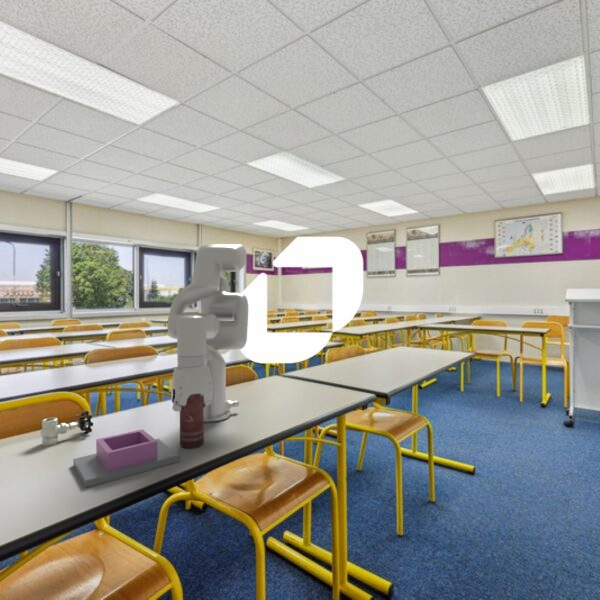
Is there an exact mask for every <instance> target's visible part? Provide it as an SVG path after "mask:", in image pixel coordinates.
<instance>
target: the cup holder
mask: <svg viewBox="0 0 600 600" xmlns="http://www.w3.org/2000/svg"><path fill="white" fill-rule="evenodd" d="M95 441H96V442H95V444H96V447H95V448H96V452H95V453H92V454H88V455H85V456H80V457H76V458H73V459H72V460H73V461H72V463H73V465H72V466H73V468H74V469H75V471H76V473H77V474H78V476H79V478H80V479H81V482H82V483H83V485H84V487H85V489H86V488H90V487H94V486H97V485H102V484H104V483H107V482H111V481H115V480H118V479H122V478H126V477H128V476H132V475H136V474H139V473H142V472H143V473H144V472H147V471H150V470H154V469H157V468H159V467H160V468H161V467H163V466H167V465H172V464H176V463H178V462H180V454H178V453H177V452H176V451H174V450H173V449H172V448H171V447H169V446H168V445H167V444H166V443H164V442H163V441H162V440H160V438H154V437H153V436H151V435H150V434H149V433H148V432H146V431H145V430H144V429H142V428H141V429H137V430H134V431H128V432H124V433H119V434H115V435H110V436H106V437H102V438H96V439H95Z"/></svg>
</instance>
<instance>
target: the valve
mask: <svg viewBox="0 0 600 600" xmlns="http://www.w3.org/2000/svg"><path fill="white" fill-rule="evenodd" d="M92 419H93V416H92V414H89V410H85V411H83V412H81V413H80V417H79V418H78V421H77V422H74V421H73V422H70V423H68V424H67V423H66V422H61V423H58V420H59V418H58V417H48V418H44V419H42V421H41V427H42V428H41V430H40V436H41V438H42V439H41V443H42V444H41V445H42V446H45V445H47V446H46V447H49V446H52V445H57V444H58V441H59V434H60V435H64V434H67V431H72V430H75V429H76V428H79V429H80V431H83V434H84V435H87V434H89V433H92V432H93V429H92V427H93V426H94V422H92Z"/></svg>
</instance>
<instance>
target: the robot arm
mask: <svg viewBox="0 0 600 600" xmlns="http://www.w3.org/2000/svg"><path fill="white" fill-rule="evenodd" d="M247 256H248V255H247V250H246V247H244V245H243V244H239V243H237V244H236V243H235V244H232V243H231V244H225V243H218V244H217V243H215V244H214V243H213V244H212V243H211V244H204V245H202V246H200V247H199V248H198V250H197V254H196V257H195V262H194V266H193V267H194V268H193V272H192V273H193V274H192V278H191V283H190V284H188V285H187V286H186V287H184V288H183V289H181V291H179V293H178V294H177V295H176V296H175V297H174V298H173V300H172V303H171V305H170V310H169V314H168V318H167V333H168V335H169V336H170V337H171V338H172V339H175V340H176V342H177V346H176V347H177V351H176V352H177V359H176V360H177V366H174V368H173V371H172V372H173V373H172V379H171V388H170V389H171V390H170V392H171V393H170V400H171V401H170V402H171V403H172V404H173V405H172V408H171V410H173V411H174V412H180V411H181V408H182V407H183V406H185V405H186V402H187V399H188V397H189V396H190V395H198V394H201V395H202V396H203V395H204V423H211V422H218V421H223V420H226V419H228V418H229V417H230V416H231V410H230V409H231V408H236V407H239V404H240V401H239V400H234V401H232V400H227V398H226V397H227V392H226V391H227V389H226V386H227V384H226V381H227V380H226V375H227V374H226V371H227V369H226V367H227V365H226V361H225V359H224V357H223V356H222V354H221V353H220V352H219V351H221V350H222V351H227V350H231V351H232V350H233V351H234V350H242V349H244V347H246V344H247V340H248V327H249V325H248V322H249V303H248V302H249V301H248V298H247V297H246V295H245V293H242V292H241V293H239V292H229V282H228V281H229V280H227V278H226V277H225V276H224V274H222V272H225V273H226V272H228V273H229V272H232V273H233V272H234V273H235V272H240V271H241V270H242V269H244V268H245V265H246V263H247V258H248V257H247ZM200 301H201V308H200V311H201V312H185V311H186V309H188V308H189V307H191V305H193V304H196V303H198V302H200Z"/></svg>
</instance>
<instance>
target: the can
mask: <svg viewBox="0 0 600 600" xmlns="http://www.w3.org/2000/svg"><path fill="white" fill-rule="evenodd" d="M204 424H205V422H204V395H203V396H202V395H201V394H198V395H190V396H189V397H188V399H187V402H186V405H185V406H183V407H182V408H181V411H179V444H180V446H181V448H183V449H189V450H190V449H197V448H200V447H201V446H202V445H203V443H204V442H205V439H204V438H205V436H204V435H205V432H204V431H205V430H204V429H205V427H204V426H205V425H204Z"/></svg>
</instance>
